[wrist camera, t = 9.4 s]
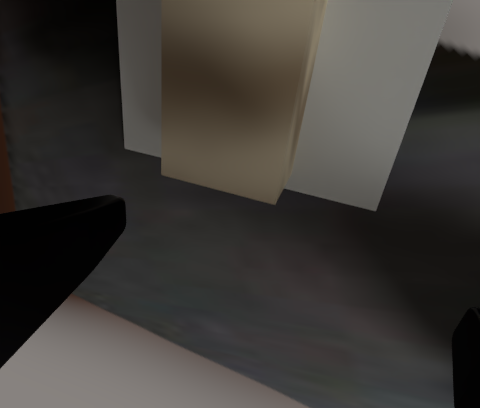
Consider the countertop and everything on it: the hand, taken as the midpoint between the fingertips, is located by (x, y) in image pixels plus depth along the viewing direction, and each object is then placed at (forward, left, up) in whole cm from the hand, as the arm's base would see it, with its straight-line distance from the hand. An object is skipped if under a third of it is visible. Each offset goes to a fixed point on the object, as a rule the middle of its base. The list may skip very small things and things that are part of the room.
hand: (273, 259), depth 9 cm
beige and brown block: (+4, -4, -11) cm, 12 cm away
